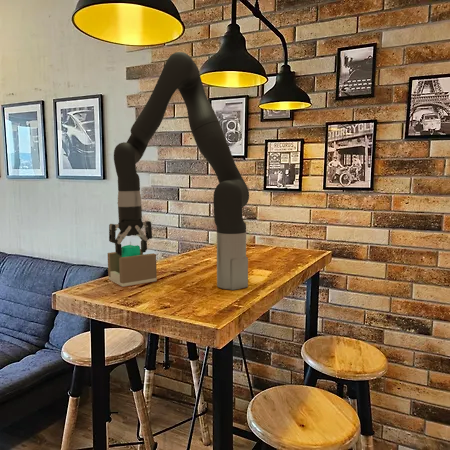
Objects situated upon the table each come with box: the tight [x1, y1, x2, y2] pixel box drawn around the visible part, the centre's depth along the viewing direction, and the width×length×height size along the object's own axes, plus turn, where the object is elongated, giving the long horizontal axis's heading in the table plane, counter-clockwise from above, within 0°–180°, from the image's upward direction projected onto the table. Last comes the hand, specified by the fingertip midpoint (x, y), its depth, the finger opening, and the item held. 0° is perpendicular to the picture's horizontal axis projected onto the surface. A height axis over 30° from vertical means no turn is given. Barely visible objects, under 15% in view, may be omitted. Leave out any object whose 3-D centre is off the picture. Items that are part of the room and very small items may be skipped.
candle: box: [121, 241, 141, 257], centre depth 138 cm, size 6×6×12 cm
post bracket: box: [107, 248, 158, 287], centre depth 138 cm, size 12×12×9 cm
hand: (131, 253), depth 137 cm, fingers open, 8 cm apart
